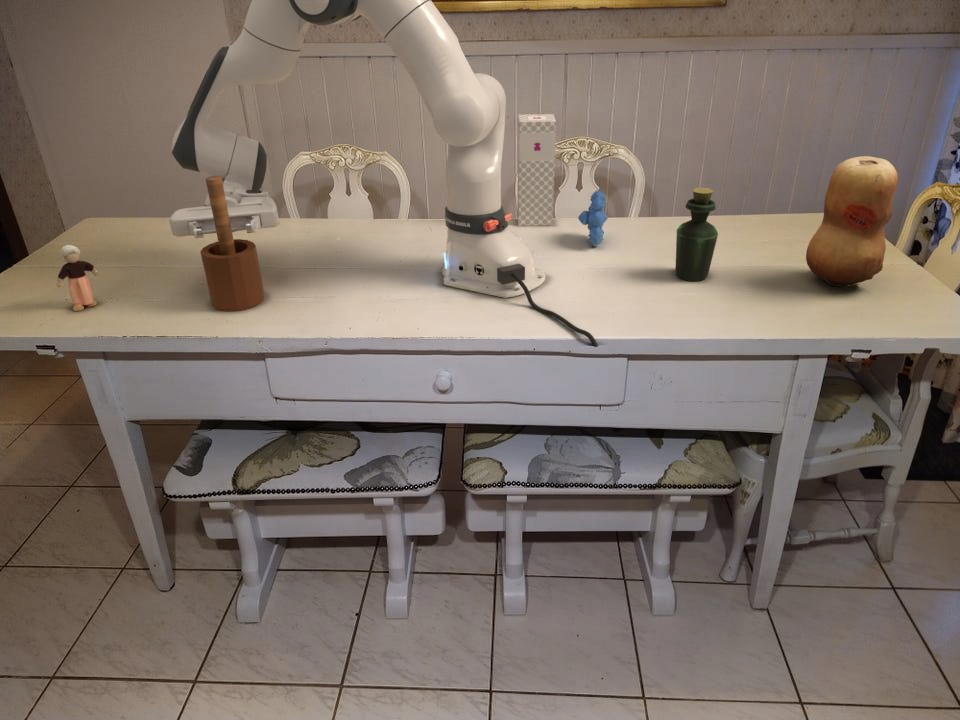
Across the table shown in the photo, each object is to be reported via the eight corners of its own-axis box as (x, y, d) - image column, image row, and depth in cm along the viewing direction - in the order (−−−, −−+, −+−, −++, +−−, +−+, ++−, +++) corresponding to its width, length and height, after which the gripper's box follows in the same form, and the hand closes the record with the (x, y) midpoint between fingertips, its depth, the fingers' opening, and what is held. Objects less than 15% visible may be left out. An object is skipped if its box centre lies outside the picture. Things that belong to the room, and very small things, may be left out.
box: (517, 214, 188) (518, 114, 176) (550, 214, 188) (553, 114, 176) (518, 225, 181) (519, 122, 168) (552, 225, 181) (556, 121, 168)
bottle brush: (254, 296, 145) (232, 177, 133) (233, 304, 142) (208, 183, 130) (240, 290, 148) (217, 172, 136) (219, 298, 145) (194, 178, 133)
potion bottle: (718, 274, 152) (731, 189, 143) (699, 286, 147) (712, 199, 138) (683, 264, 157) (694, 182, 148) (663, 276, 152) (673, 191, 143)
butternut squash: (801, 292, 144) (829, 165, 131) (800, 267, 155) (825, 148, 142) (879, 301, 139) (915, 171, 127) (872, 275, 150) (905, 152, 138)
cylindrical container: (274, 298, 145) (265, 246, 140) (231, 316, 139) (219, 262, 133) (245, 286, 151) (235, 235, 146) (202, 302, 145) (190, 250, 139)
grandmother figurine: (74, 314, 140) (54, 253, 134) (63, 310, 142) (42, 249, 136) (110, 300, 146) (93, 240, 140) (99, 296, 148) (81, 236, 142)
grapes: (577, 233, 175) (579, 184, 169) (605, 234, 174) (608, 184, 168) (576, 251, 165) (578, 199, 159) (606, 251, 164) (610, 199, 158)
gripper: (169, 199, 145) (161, 221, 133) (275, 189, 149) (276, 209, 138) (176, 229, 148) (169, 253, 136) (279, 219, 152) (281, 241, 141)
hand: (224, 231), depth 137 cm, fingers open, 8 cm apart
